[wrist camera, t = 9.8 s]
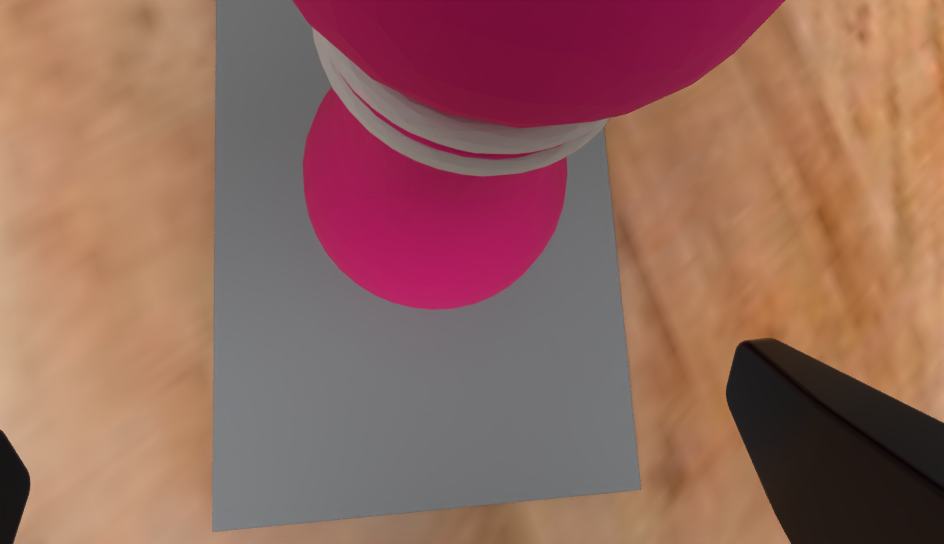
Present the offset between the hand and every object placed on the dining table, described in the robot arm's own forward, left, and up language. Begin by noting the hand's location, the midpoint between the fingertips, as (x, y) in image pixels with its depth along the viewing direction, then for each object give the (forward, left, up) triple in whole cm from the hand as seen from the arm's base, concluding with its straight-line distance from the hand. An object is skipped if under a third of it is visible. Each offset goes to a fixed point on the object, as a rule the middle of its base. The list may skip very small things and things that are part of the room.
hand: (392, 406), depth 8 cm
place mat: (+6, -2, -13) cm, 15 cm away
